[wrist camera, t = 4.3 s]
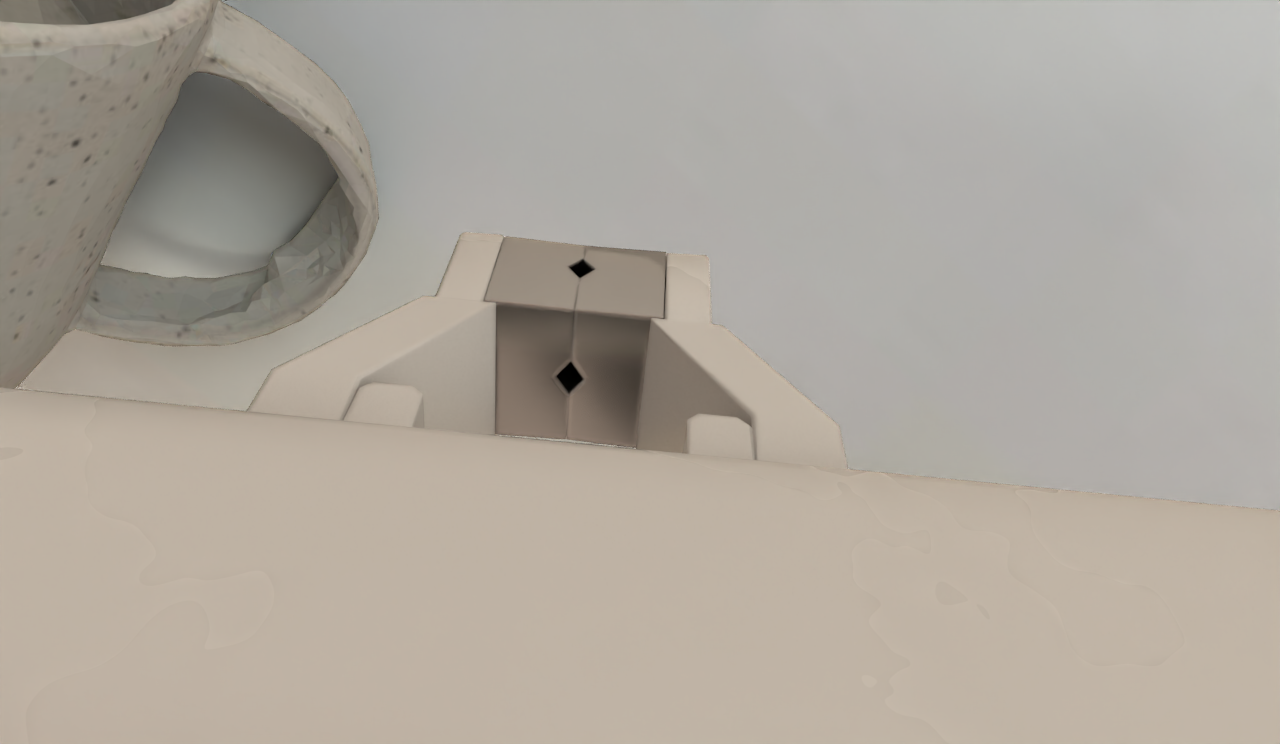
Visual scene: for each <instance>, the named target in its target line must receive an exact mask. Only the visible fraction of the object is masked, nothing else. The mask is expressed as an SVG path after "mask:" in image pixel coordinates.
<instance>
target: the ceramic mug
mask: <svg viewBox="0 0 1280 744" xmlns="http://www.w3.org/2000/svg"><path fill="white" fill-rule="evenodd" d="M194 72H202V73H209V74H212V75H216V76H220V77H223V78H227V79H229V80H231V81H233V82H234V83H236V84H238V85H240V86H241V87H243V88H245V89H246V90H248V91H250V92H251V93H252V94H253V95H255V96H256V97H257V98H258V99H259V100H261V101H262V102H263V103H265V104H267V105H268V106H270V107H272V108H274V109H275V110H277V111H279V112H280V113H282V114H283V115H284V116H285V117H287V118H288V119H289V120H291V121H292V122H293V123H294V124H296V125H297V126H298V127H299V128H301V129H302V130H303V131H304V132H305V133H307V134H308V135H309V136H310V137H312V138H313V139H314V140H315V141H316V142H317V143H318V144H319V145H320V146H321V147H322V148H323V150H324V151H325V153H326V155H327V157H328V159H329V161H330V163H331V164H332V166H333V168H334V169H335V171H336V173H337V174H338V176H339V177H338V179H337V180H336V182H335V183H334V185H333V186H332V188H331V189H330V190H329V192H328V193H327V195H326V196H325V197H324V199H323V200H322V202H321V203H320V205H319V206H318V207H317V209H316V210H315V212H314V214H313V215H312V217H311V218H310V220H309V221H308V223H307V224H306V225H305V226H304V227H303V228H302V230H301V231H300V232H299V233H298V234H297V235H296V236H295V237H294V238H293V239H292V240H291V241H290V242H288V243H286V244H284V245H283V246H281V247H279V248H277V249H275V250H274V251H273V254H272V256H271V258H270V261H269V263H268V266H265V267H263V268H260V269H258V270H255V271H251V272H246V273H241V274H236V275H230V276H224V277H219V278H193V277H177V278H166V277H161V276H156V275H150V274H148V273H136V272H132V271H128V270H124V269H120V268H115V267H110V266H105V265H100V263H101V260H102V258H103V255H104V253H105V250H106V248H107V245H108V242H109V239H110V237H111V234H112V231H113V229H114V228H115V226H116V224H117V222H118V220H119V218H120V215H121V213H122V211H123V209H124V206H125V203H126V201H127V199H128V197H129V195H130V193H131V191H132V189H133V187H134V186H135V184H136V182H137V180H138V179H139V177H140V175H141V173H142V171H143V169H144V166H145V164H146V162H147V159H148V157H149V155H150V153H151V150H152V148H153V146H154V144H155V142H156V140H157V138H158V137H159V135H160V133H161V131H162V130H163V128H164V125H165V121H166V119H167V118H168V116H169V114H170V112H171V110H172V109H173V107H174V105H175V103H176V101H177V99H178V96H179V92H180V89H181V85H182V83H183V82H184V81H185V80H186V78H187V77H188V76H189V75H191V74H192V73H194ZM378 219H379V211H378V197H377V188H376V182H375V176H374V172H373V168H372V161H371V154H370V146H369V142H368V140H367V138H366V135H365V133H364V131H363V128H362V126H361V124H360V122H359V120H358V118H357V116H356V114H355V112H354V110H353V108H352V106H351V104H350V102H349V101H348V99H347V98H346V96H345V95H344V94H343V92H342V91H341V90H340V89H339V87H338V86H337V85H336V83H335V82H334V81H333V80H332V79H331V78H330V77H329V76H328V75H327V74H326V73H325V72H324V71H323V70H322V69H321V68H320V67H319V66H318V65H317V64H316V63H314V62H313V61H312V60H310V59H309V58H307V57H306V56H305V55H303V54H302V53H301V52H299V51H298V50H297V49H296V48H294V47H293V46H292V45H290V44H289V43H288V42H286V41H285V40H283V39H282V38H280V37H279V36H278V35H276V34H275V33H273V32H272V31H270V30H269V29H268V28H266V27H265V26H263V25H262V24H260V23H259V22H258V21H256V20H254V19H252V18H250V17H249V16H247V15H245V14H243V13H241V12H240V11H238V10H236V9H234V8H232V7H230V6H229V5H227V4H225V3H223V2H222V1H221V0H0V388H10V389H14V388H15V387H17V386H18V385H19V384H20V383H21V382H22V381H23V380H24V379H25V378H26V377H27V376H28V375H29V374H30V373H31V372H32V370H33V369H34V368H35V367H36V366H37V365H38V364H39V363H40V362H41V361H42V359H43V358H44V357H45V356H46V355H47V354H48V353H49V352H50V351H51V349H52V348H53V347H54V346H55V345H56V343H57V342H58V341H59V340H60V339H61V337H62V336H63V335H64V334H66V333H68V332H70V331H73V330H75V329H76V330H80V331H85V332H89V333H92V334H96V335H99V336H103V337H108V338H114V339H119V340H125V341H130V342H138V343H150V344H156V345H162V346H221V345H229V344H234V343H239V342H242V341H246V340H249V339H253V338H256V337H260V336H263V335H267V334H270V333H273V332H275V331H277V330H280V329H282V328H284V327H287V326H289V325H292V324H294V323H296V322H299V321H301V320H302V319H304V318H305V317H306V316H308V315H309V314H311V313H312V312H314V311H315V310H317V309H318V308H320V307H321V306H322V305H323V304H324V303H325V302H326V301H327V300H328V299H329V298H331V297H332V296H334V295H335V294H336V293H337V292H338V291H339V290H340V289H341V288H342V287H343V286H344V285H345V283H346V282H347V281H348V279H349V278H350V277H351V275H352V274H353V272H354V271H355V269H356V268H357V267H358V265H359V264H360V262H361V261H362V259H363V258H364V256H365V255H366V253H367V250H368V247H369V245H370V242H371V239H372V237H373V234H374V231H375V229H376V226H377V222H378Z"/></svg>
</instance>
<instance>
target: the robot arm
mask: <svg viewBox="0 0 1280 744" xmlns="http://www.w3.org/2000/svg"><path fill="white" fill-rule="evenodd" d="M495 434H498V435H495ZM499 435H513V436H527V437H541V438H555V439H568V440H576V441H584V442H592V443H600V444H609V445H617V446H625V447H633V448H636V449H633V448H623V447H613V446H602V445H592V444H582V443H571V442H561V441H550V440H540V439H530V438H519V437H509V436H499ZM0 744H1280V511H1279V510H1269V509H1258V508H1248V507H1238V506H1227V505H1217V504H1206V503H1196V502H1186V501H1175V500H1165V499H1154V498H1144V497H1134V496H1123V495H1113V494H1102V493H1092V492H1081V491H1071V490H1061V489H1050V488H1040V487H1029V486H1019V485H1009V484H998V483H988V482H977V481H967V480H957V479H946V478H936V477H925V476H915V475H904V474H894V473H884V472H873V471H863V470H852V469H848V465H847V460H846V455H845V450H844V445H843V440H842V436H841V431H840V426H839V425H838V424H837V423H836V422H835V421H834V420H833V419H831V418H830V417H829V416H828V415H827V414H826V413H824V412H823V411H822V410H821V409H820V408H819V407H817V406H816V405H815V404H814V403H813V402H812V401H810V400H809V399H808V398H807V397H806V396H805V395H803V394H802V393H801V392H800V391H799V390H798V389H796V388H795V387H794V386H793V385H792V384H791V383H790V382H788V381H787V380H786V379H785V378H784V377H783V376H781V375H780V374H779V373H778V372H777V371H776V370H774V369H773V368H772V367H771V366H770V365H769V364H767V363H766V362H765V361H764V360H763V359H762V358H760V357H759V356H758V355H757V354H756V353H755V352H753V351H752V350H751V349H750V348H749V347H748V346H746V345H745V344H744V343H743V342H742V341H741V340H739V339H738V338H737V337H736V336H735V335H734V334H732V333H731V332H730V331H729V330H728V329H727V328H725V327H724V326H723V325H716V324H712V313H711V290H710V267H709V258H708V257H707V256H706V255H692V254H674V253H667V254H666V252H659V251H646V250H633V249H620V248H607V247H594V246H584V245H576V244H567V243H559V242H551V241H542V240H534V239H525V238H517V237H509V236H506V237H504V236H503V235H498V234H484V233H470V232H464V233H462V234H461V235H460V236H459V239H458V241H457V244H456V246H455V249H454V251H453V254H452V256H451V259H450V261H449V264H448V266H447V269H446V271H445V273H444V276H443V278H442V281H441V283H440V286H439V288H438V291H437V293H436V296H435V297H434V296H422V297H420V298H418V299H416V300H414V301H411V302H409V303H407V304H405V305H403V306H401V307H399V308H397V309H395V310H393V311H391V312H389V313H387V314H385V315H383V316H380V317H378V318H376V319H374V320H372V321H370V322H368V323H366V324H364V325H362V326H360V327H358V328H356V329H354V330H352V331H350V332H347V333H345V334H343V335H341V336H339V337H337V338H335V339H333V340H331V341H329V342H327V343H325V344H323V345H321V346H319V347H316V348H314V349H312V350H310V351H308V352H306V353H304V354H302V355H300V356H298V357H296V358H294V359H292V360H290V361H288V362H285V363H283V364H281V365H279V366H277V367H275V368H273V369H271V371H270V373H269V374H268V376H267V378H266V379H265V381H264V383H263V384H262V386H261V388H260V389H259V391H258V393H257V394H256V396H255V398H254V399H253V401H252V403H251V404H250V406H249V408H248V409H247V411H240V410H230V409H219V408H209V407H199V406H188V405H178V404H168V403H157V402H147V401H137V400H126V399H116V398H105V397H95V396H84V395H73V394H63V393H52V392H42V391H31V390H21V389H10V388H0Z"/></svg>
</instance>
